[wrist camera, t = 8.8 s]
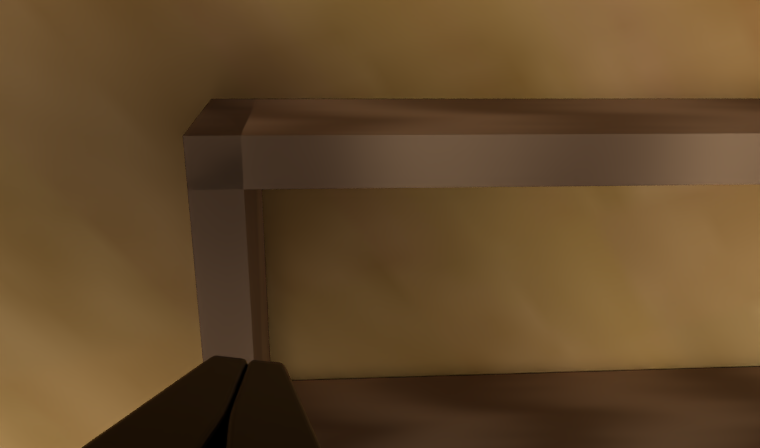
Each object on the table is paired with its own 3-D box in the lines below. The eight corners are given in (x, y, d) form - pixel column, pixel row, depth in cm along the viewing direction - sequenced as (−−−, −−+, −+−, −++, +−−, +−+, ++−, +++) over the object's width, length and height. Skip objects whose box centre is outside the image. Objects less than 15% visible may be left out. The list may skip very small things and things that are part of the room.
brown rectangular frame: (234, 415, 22) (216, 508, 18) (211, 99, 18) (183, 135, 15) (778, 396, 23) (864, 480, 20) (856, 98, 20) (980, 132, 16)
